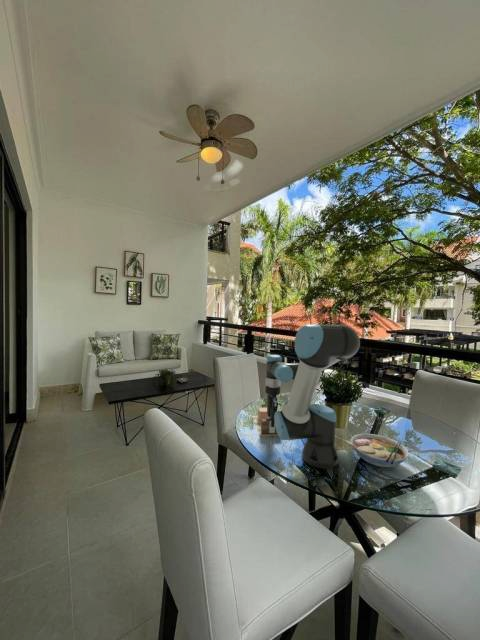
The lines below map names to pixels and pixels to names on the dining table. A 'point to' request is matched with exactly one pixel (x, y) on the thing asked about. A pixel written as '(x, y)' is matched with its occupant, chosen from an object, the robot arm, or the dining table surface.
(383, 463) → the ramen bowl
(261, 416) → the block
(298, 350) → the robot arm
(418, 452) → the dining table surface
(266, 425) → the wooden brown box
